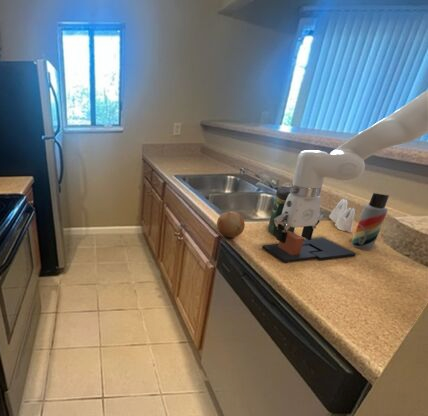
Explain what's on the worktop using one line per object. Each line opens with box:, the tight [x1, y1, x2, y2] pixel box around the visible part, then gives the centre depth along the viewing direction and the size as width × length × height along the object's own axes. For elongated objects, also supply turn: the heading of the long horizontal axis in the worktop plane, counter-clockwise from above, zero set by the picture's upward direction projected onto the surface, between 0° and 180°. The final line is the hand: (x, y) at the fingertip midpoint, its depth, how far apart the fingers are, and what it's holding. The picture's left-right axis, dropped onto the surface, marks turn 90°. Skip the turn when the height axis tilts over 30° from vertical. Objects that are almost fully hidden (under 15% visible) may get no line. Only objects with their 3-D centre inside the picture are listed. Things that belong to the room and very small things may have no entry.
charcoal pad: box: [302, 236, 357, 262], centre depth 96 cm, size 14×12×1 cm
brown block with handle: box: [261, 231, 318, 264], centre depth 93 cm, size 16×10×7 cm, turn 100°
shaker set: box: [328, 198, 356, 233], centre depth 112 cm, size 12×4×11 cm, turn 162°
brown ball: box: [216, 211, 246, 238], centre depth 105 cm, size 10×10×10 cm
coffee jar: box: [267, 185, 296, 237], centre depth 105 cm, size 10×8×19 cm
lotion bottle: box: [351, 192, 390, 251], centre depth 94 cm, size 6×6×20 cm
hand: (293, 239), depth 92 cm, fingers open, 9 cm apart
